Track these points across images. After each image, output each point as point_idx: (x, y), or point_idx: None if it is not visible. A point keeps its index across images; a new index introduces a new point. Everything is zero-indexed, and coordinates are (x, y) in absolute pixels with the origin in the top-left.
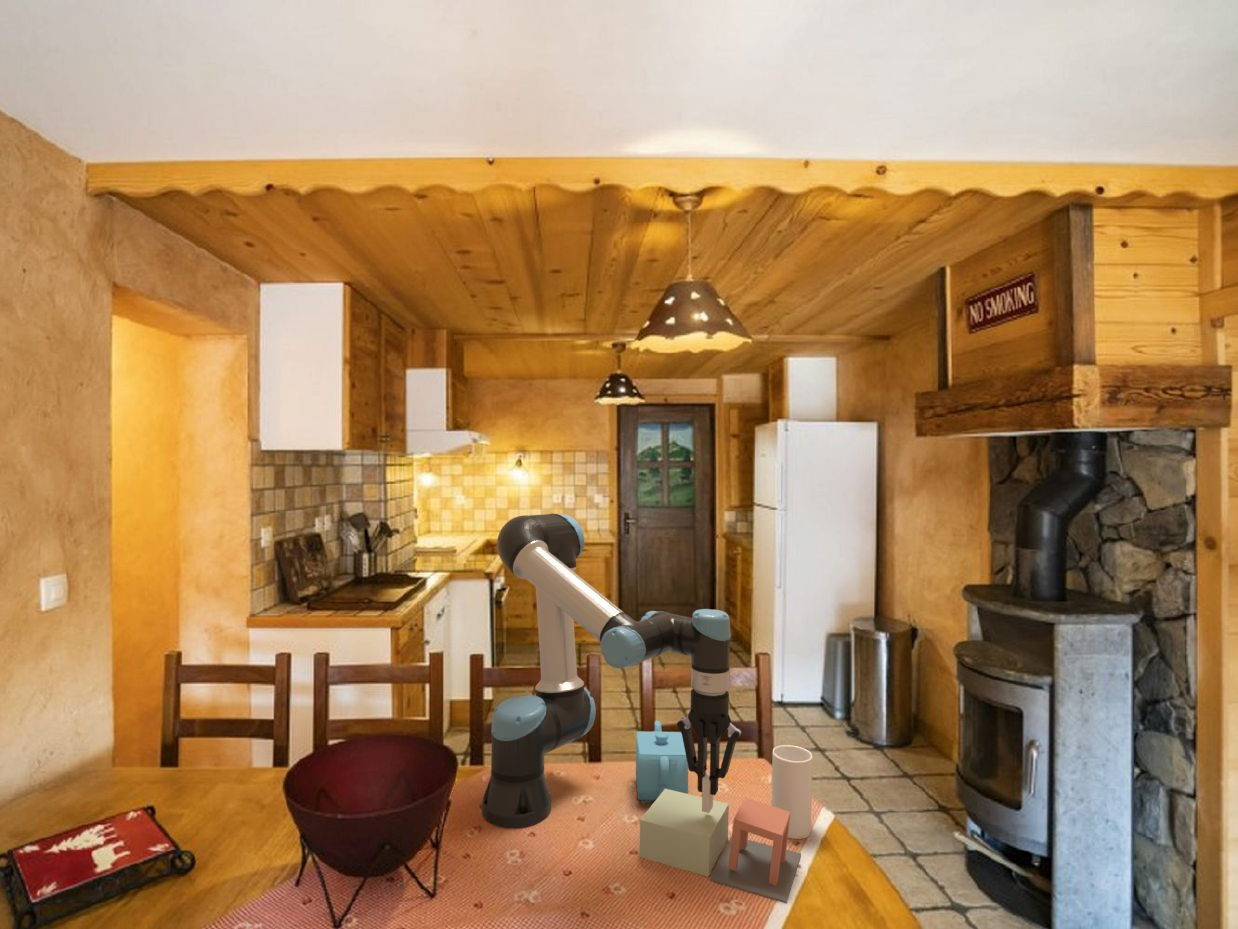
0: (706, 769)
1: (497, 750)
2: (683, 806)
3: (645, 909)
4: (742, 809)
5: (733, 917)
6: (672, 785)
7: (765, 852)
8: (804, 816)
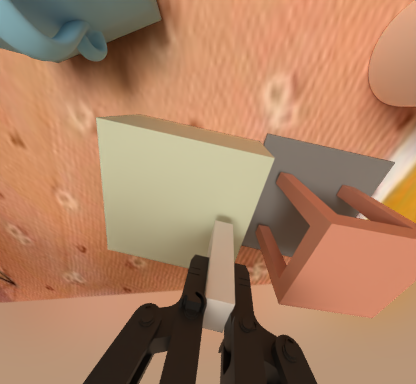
0: (203, 315)
1: None
2: (165, 195)
3: (172, 281)
4: (307, 273)
5: (255, 283)
6: (101, 18)
7: (323, 174)
8: None
